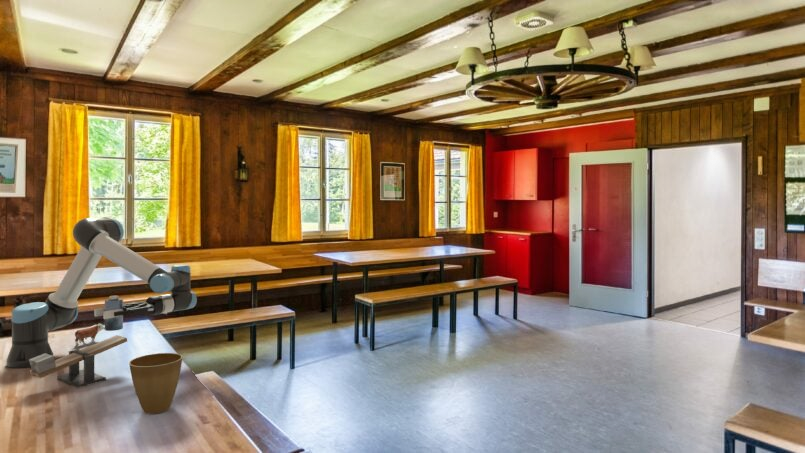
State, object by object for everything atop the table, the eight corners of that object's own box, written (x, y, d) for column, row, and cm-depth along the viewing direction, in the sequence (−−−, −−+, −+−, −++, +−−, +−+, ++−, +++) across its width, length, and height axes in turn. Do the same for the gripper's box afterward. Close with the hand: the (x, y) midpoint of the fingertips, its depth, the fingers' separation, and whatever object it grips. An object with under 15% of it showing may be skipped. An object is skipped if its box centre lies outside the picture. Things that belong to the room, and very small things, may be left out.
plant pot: (192, 402, 159) (192, 354, 158) (160, 421, 144) (160, 368, 144) (153, 398, 162) (153, 350, 162) (117, 416, 148) (117, 364, 147)
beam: (29, 375, 169) (25, 359, 168) (116, 339, 194) (113, 325, 192) (41, 380, 164) (37, 364, 163) (129, 342, 189) (125, 328, 188)
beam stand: (57, 378, 179) (57, 352, 179) (83, 372, 187) (83, 346, 187) (79, 387, 171) (78, 359, 171) (105, 380, 179) (105, 353, 178)
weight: (101, 329, 185) (101, 296, 185) (117, 326, 190) (118, 294, 190) (109, 331, 182) (109, 298, 181) (126, 328, 187) (126, 296, 186)
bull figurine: (106, 340, 233) (106, 323, 233) (77, 346, 221) (77, 329, 221) (100, 338, 235) (100, 322, 235) (71, 345, 223) (71, 327, 222)
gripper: (172, 316, 196) (112, 327, 176) (146, 311, 206) (86, 320, 186) (172, 298, 195) (112, 307, 176) (146, 293, 206) (86, 301, 186)
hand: (99, 314), depth 181 cm, fingers closed on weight, 6 cm apart
